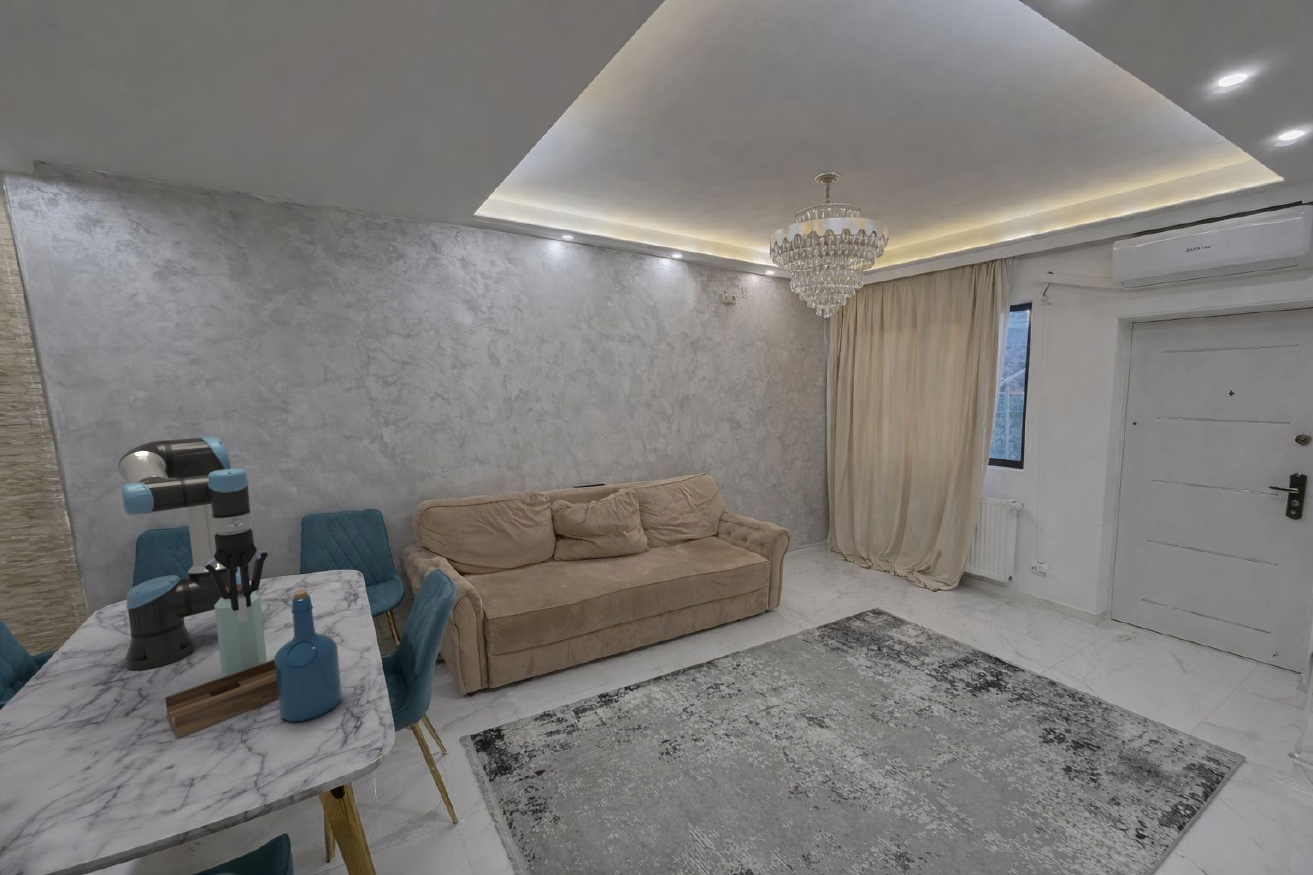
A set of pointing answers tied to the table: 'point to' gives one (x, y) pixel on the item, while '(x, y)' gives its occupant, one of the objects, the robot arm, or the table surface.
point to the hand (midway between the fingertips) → (242, 620)
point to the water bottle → (240, 635)
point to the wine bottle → (307, 667)
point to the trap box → (221, 698)
